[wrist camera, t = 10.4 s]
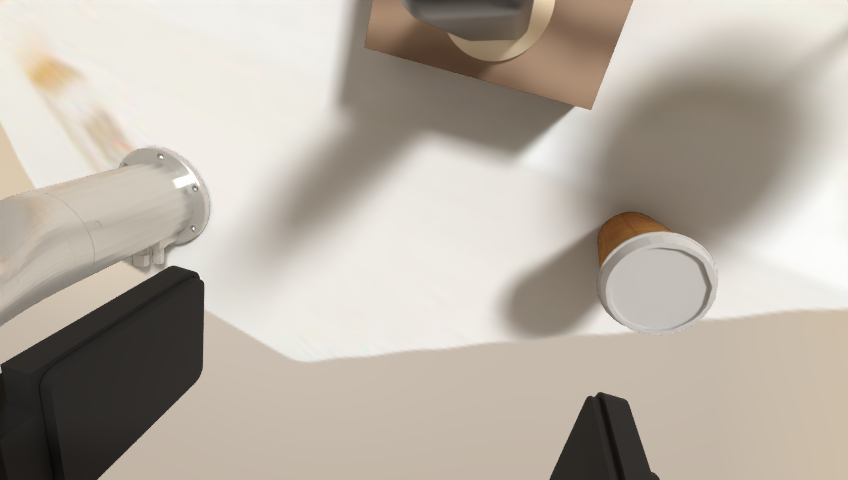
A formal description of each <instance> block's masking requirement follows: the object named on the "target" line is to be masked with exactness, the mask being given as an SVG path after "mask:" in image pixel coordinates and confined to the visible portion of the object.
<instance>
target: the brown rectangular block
mask: <svg viewBox="0 0 848 480" xmlns="http://www.w3.org/2000/svg"><path fill="white" fill-rule="evenodd" d="M632 3H633V0H534V4H533V9H532V14H531V19H530V24H529V27H528V30H527V32H526V33H525V34H524V35H523V36H522V37H521V38H518V39H515V40H492V41H468V40H464V39H462V38H460V37H457V36H455V35H453V34H450V33H448V32H446V31H443V30H441V29H439V28H436V27H434V26H432V25H429V24H427V23H425V22H422V21H420V20H418V19H416V18H414V17H413V16H412V15H411V14H410V13H409V12H408V11H407V10H406V9H405V8H404V6H403V4H402V2H401V0H373V2H372V8H371V14H370V19H369V25H368V30H367V36H366V42H365V48H368V49H372V50H375V51H379V52H383V53H386V54H390V55H394V56H397V57H401V58H404V59H408V60H412V61H415V62H419V63H423V64H426V65H430V66H433V67H437V68H441V69H444V70H448V71H451V72H455V73H459V74H462V75H466V76H470V77H473V78H477V79H480V80H484V81H488V82H491V83H495V84H499V85H502V86H506V87H509V88H513V89H517V90H520V91H524V92H527V93H531V94H535V95H538V96H542V97H546V98H549V99H553V100H556V101H560V102H564V103H567V104H571V105H574V106H578V107H582V108H585V109H589V110H591V109H592V106H593V103H594V101H595V98H596V96H597V93H598V91H599V88H600V85H601V83H602V80H603V78H604V75H605V72H606V70H607V67H608V65H609V62H610V60H611V57H612V54H613V52H614V49H615V47H616V44H617V41H618V39H619V36H620V34H621V31H622V28H623V26H624V23H625V21H626V18H627V16H628V13H629V10H630V8H631V5H632Z"/></svg>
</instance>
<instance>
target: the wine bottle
mask: <svg viewBox="0 0 848 480" xmlns="http://www.w3.org/2000/svg"><path fill="white" fill-rule="evenodd" d="M401 2H402V4H403V6H404V8H405V9H406V10H407V11H408V12H409V13H410V14H411V15H412V16H413V17H414V18H416V19H418V20H420V21H422V22H425V23H427V24H429V25H432V26H434V27H436V28H439V29H441V30H443V31H446V32H448V33H450V34H453V35H455V36H457V37H460V38H462V39H464V40H468V41H492V40H515V39H518V38H521V37H522V36H523V35H524V34H525V33H526V32H527V30H528V27H529V24H530V19H531V14H532V9H533V4H534V0H401Z"/></svg>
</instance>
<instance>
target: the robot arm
mask: <svg viewBox="0 0 848 480" xmlns="http://www.w3.org/2000/svg"><path fill="white" fill-rule="evenodd" d="M209 210H210V205H209V197H208V194H207V190H206V187H205V185H204V183H203V181H202V179H201V177H200V176H199V174H198V173H197V172H196V170H195V169H194V168H193V167H192V166H191V165H190V164H189V162H187V161H186V160H185V159H184V158H182V157H181V156H179V155H178V154H176V153H174V152H172V151H170V150H167V149H164V148H159V147H146V148H142V149H137V150H135V151H133V152H131V153H130V154H128V155H127V156H126V157H125V158H124V159H123V161H122V162H121V163H120V166H119V168H117V169H113V170H109V171H106V172H102V173H98V174H94V175H90V176H86V177H82V178H79V179H75V180H71V181H67V182H63V183H59V184H55V185H52V186H48V187H44V188H40V189H36V190H33V191H28V192H25V193H21V194H17V195H14V196H10V197H7V198H5V199H3V200H1V201H0V327H1V326H2V325H3V324H4V323H6V322H8V321H9V320H11V319H12V318H14V317H15V316H16V315H18V314H20V313H21V312H23V311H24V310H26V309H27V308H29V307H31V306H32V305H34V304H36V303H38V302H40V301H41V300H43V299H45V298H47V297H49V296H51V295H52V294H54V293H56V292H58V291H60V290H62V289H64V288H66V287H68V286H70V285H72V284H74V283H76V282H78V281H80V280H82V279H84V278H86V277H89V276H90V275H93V274H95V273H97V272H99V271H100V270H103V269H105V268H107V267H109V266H111V265H113V264H115V263H117V262H119V261H121V260H123V259H125V258H127V257H129V256H131V255H132V264H133V266H135V267H139V268H142V267H147V266H148V265H149V247H152V248H153V253H152V262H153V263H154V264H163V263H164V257H165V254H164V248H165V247H166V246H167V245H169V244H181V243H185V242H187V241H189V240H191V239H193V238H195V237H196V236H198V235H199V234H200V233H201V232H202V231H203V229H204V228H205V226H206V224H207V221H208V217H209ZM203 321H204V282H203V281H202V280H200V277H199V275H198V273H196V272H194V271H191V270H188V269H184V268H181V267H177V266H170V267H168V268H166V269H165V270H163V271H161V272H159V273H158V274H156V275H154V276H152V277H151V278H149V279H147V280H146V281H144V282H142V283H140V284H139V285H137V286H135V287H134V288H132V289H130V290H128V291H127V292H125V293H123V294H121V295H120V296H118V297H116V298H115V299H113V300H111V301H110V302H108V303H106V304H104V305H102V306H101V307H99V308H97V309H96V310H94V311H92V312H90V313H89V314H87V315H85V316H84V317H82V318H80V319H78V320H77V321H75V322H73V323H71V324H70V325H68V326H66V327H65V328H63V329H61V330H59V331H58V332H56V333H54V334H52V335H51V336H49V337H48V338H46V339H44V340H42V341H40V342H39V343H37V344H35V345H34V346H32V347H30V348H28V349H27V350H25V351H23V352H21V353H20V354H18V355H16V356H15V357H13V358H11V359H10V360H8V361H6V362H5V363H2V364H1V370H2V373H1V374H0V480H97V479H98V478H99V477H100V476H101V475H102V474H103V473H104V472H105V471H106V470H107V469H108V468H109V467H110V466H111V465H112V464H113V463H114V462H115V461H116V460H117V459H118V458H119V457H121V456H122V455H123V454H124V452H126V451H127V450H128V449H129V448H130V446H132V444H134V443H135V442H136V441H137V440H138V439H139V438H140V437H141V436H142V435H143V434H144V433H145V432H146V431H147V430H148V429H149V428H150V427H151V426H152V425H153V424H154V423H155V422H156V421H157V420H158V419H159V418H160V417H161V416H162V415H163V414H164V413H165V412H166V411H167V410H168V409H169V408H170V407H171V406H172V405H173V404H174V403H175V402H176V401H177V400H178V399H179V398H180V397H181V396H182V395H183V394H184V393H185V392H186V391H187V390H188V389H189V388H190V387H191V386H192V385H193V384H194V383H195V382H196V381H197V380H198V378H199V377H200V375H201V372H202V368H203V328H204V327H203V326H204V322H203ZM550 480H660V479H659V477H658V476H657V475H656V474H655V473H653V472H651V471H650V468H649V465H648V461H647V458H646V455H645V452H644V449H643V446H642V443H641V440H640V437H639V434H638V431H637V428H636V425H635V422H634V418H633V416H632V412H631V409H630V406H629V404H628V402H627V400H625V399H622V398H619V397H615V396H612V395H609V394H605V393H602V392H599V393H598V394H597V395H596V396H595V397H592V396H588V397H587V399H586V400H585V403H584V405H583V407H582V409H581V411H580V413H579V416H578V418H577V420H576V422H575V424H574V427H573V429H572V431H571V433H570V436H569V438H568V440H567V442H566V444H565V446H564V449H563V451H562V453H561V455H560V457H559V460H558V462H557V464H556V466H555V468H554V470H553V473H552V475H551V477H550Z"/></svg>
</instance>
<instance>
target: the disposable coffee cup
mask: <svg viewBox="0 0 848 480" xmlns="http://www.w3.org/2000/svg"><path fill="white" fill-rule="evenodd" d="M598 250H599V265H600V271H599V274H598V280H597V291H598V296H599V299H600V301H601V304H602V306H603V307H604V309H605V310H606V312H607V313H608V314H609V315H610V316H611V317H612V318H613V319H614V320H616V321H617V322H619V323H620V324H622V325H624V326H626V327H628V328H630V329H632V330H634V331H637V332H640V333H645V334H653V335H663V334H669V333H675V332H678V331H681V330H683V329H685V328H688V327H690V326H692V325H693V324H695V323H696V322H697V321H699V320H700V319H701V318H703V317H704V316H705V314H706V313H707V312H708V310H709V309H710V308H711V306H712V304H713V302H714V300H715V297H716V292H717V283H718V273H717V268H716V265H715V262H714V260H713V258H712V257H711V255H710V254H709V252H708V251H707V250H706V249H705V248H704V247H703V246H702V245H701V244H699V243H698V242H696V241H695V240H693V239H691V238H689V237H687V236H684V235H681V234H678V233H674V232H672V231H670V230H669V229H667V228H666V227H664V226H662V225H661V224H659V223H657V222H656V221H654V220H653V219H651V218H650V217H648V216H646V215H644V214H641V213H636V212H627V213H622V214H619V215H616V216H614V217H613V218H611V219H610V220H608V221H607V222H606V223H605V224H604V226H603V227H602V229H601V230H600V233H599V236H598Z"/></svg>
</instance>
